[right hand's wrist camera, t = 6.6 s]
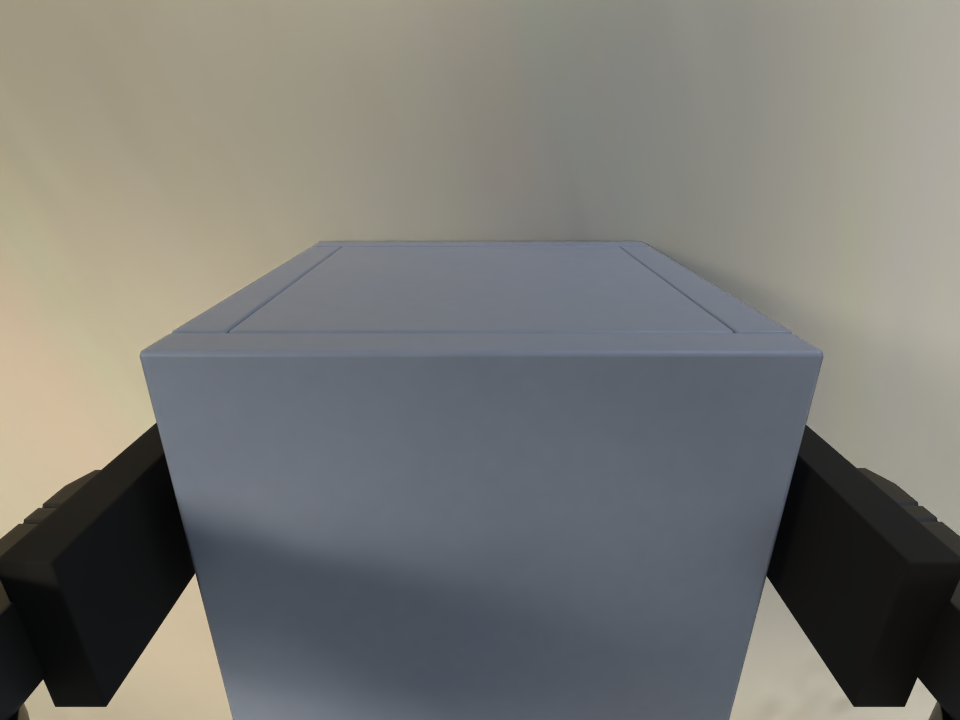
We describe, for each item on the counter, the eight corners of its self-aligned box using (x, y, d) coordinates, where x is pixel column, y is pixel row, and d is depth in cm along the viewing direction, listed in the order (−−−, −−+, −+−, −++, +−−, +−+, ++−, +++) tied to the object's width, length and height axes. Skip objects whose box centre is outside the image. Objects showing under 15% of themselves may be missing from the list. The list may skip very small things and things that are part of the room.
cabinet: (595, 660, 23) (664, 973, 14) (365, 660, 23) (296, 973, 14) (642, 241, 16) (827, 351, 8) (318, 241, 16) (135, 351, 8)
